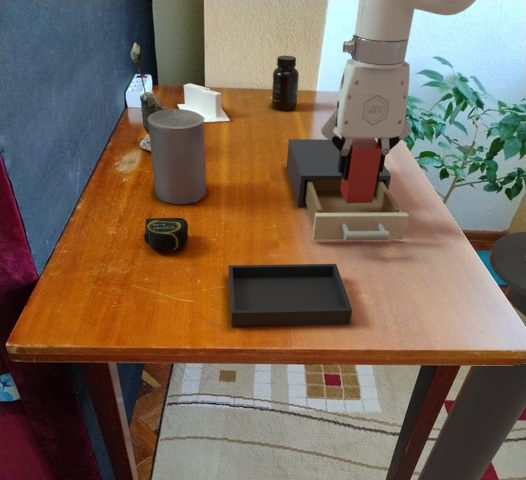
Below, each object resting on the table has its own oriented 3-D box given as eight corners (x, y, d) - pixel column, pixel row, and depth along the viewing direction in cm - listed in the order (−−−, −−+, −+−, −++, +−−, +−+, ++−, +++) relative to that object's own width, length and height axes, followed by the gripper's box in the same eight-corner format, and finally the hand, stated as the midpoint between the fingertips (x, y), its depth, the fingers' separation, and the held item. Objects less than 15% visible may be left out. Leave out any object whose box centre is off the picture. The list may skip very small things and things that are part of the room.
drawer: (410, 252, 79) (417, 228, 76) (317, 253, 78) (320, 229, 75) (377, 194, 94) (382, 173, 91) (299, 194, 93) (301, 172, 90)
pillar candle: (151, 185, 95) (141, 102, 85) (200, 180, 98) (196, 99, 88) (161, 208, 89) (151, 121, 78) (213, 201, 91) (210, 117, 81)
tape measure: (188, 234, 82) (187, 213, 80) (188, 256, 77) (186, 235, 75) (147, 234, 82) (144, 214, 79) (144, 256, 77) (141, 235, 74)
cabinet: (384, 207, 93) (391, 175, 88) (298, 207, 91) (301, 175, 87) (362, 168, 105) (367, 139, 101) (286, 168, 104) (288, 139, 100)
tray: (334, 276, 75) (336, 263, 73) (349, 323, 67) (352, 310, 65) (228, 278, 73) (228, 265, 72) (231, 327, 65) (231, 313, 64)
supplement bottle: (287, 102, 137) (290, 53, 129) (301, 109, 133) (305, 59, 124) (266, 105, 134) (268, 55, 126) (280, 112, 130) (283, 61, 122)
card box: (365, 189, 86) (374, 137, 80) (372, 202, 83) (382, 149, 76) (340, 190, 86) (347, 137, 80) (346, 203, 82) (354, 149, 76)
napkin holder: (176, 104, 131) (174, 80, 127) (217, 102, 134) (217, 79, 130) (186, 123, 121) (185, 98, 117) (231, 120, 124) (231, 96, 120)
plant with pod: (138, 159, 104) (124, 51, 90) (139, 139, 112) (126, 38, 98) (177, 158, 105) (168, 52, 91) (175, 138, 113) (166, 38, 100)
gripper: (325, 57, 66) (312, 186, 78) (446, 57, 67) (415, 185, 80) (316, 44, 71) (305, 167, 84) (427, 45, 73) (401, 166, 85)
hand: (359, 175), depth 82 cm, fingers closed on card box, 4 cm apart
